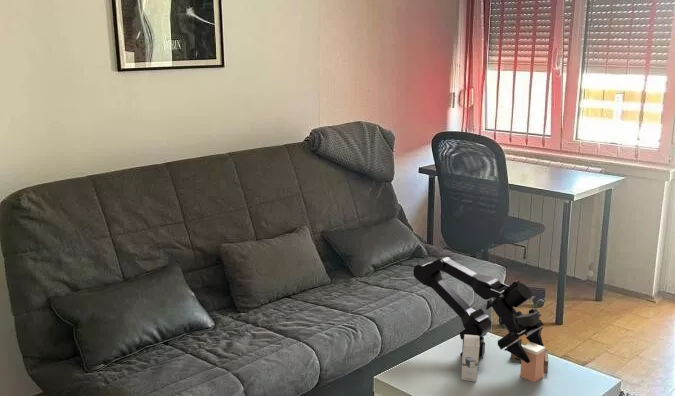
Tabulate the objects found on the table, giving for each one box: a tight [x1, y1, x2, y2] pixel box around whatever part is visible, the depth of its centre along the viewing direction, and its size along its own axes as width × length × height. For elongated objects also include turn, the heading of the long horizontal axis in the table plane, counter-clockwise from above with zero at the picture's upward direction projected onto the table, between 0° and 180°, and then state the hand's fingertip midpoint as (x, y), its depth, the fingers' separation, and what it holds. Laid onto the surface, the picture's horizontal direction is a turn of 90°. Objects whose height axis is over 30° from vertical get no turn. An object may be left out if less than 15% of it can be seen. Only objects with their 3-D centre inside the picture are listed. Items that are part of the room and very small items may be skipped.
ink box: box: [460, 334, 480, 382], centre depth 208 cm, size 9×5×12 cm, turn 168°
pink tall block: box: [519, 341, 546, 383], centre depth 207 cm, size 5×5×10 cm
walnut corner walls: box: [510, 349, 549, 374], centre depth 216 cm, size 12×8×4 cm
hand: (536, 357), depth 206 cm, fingers open, 9 cm apart
